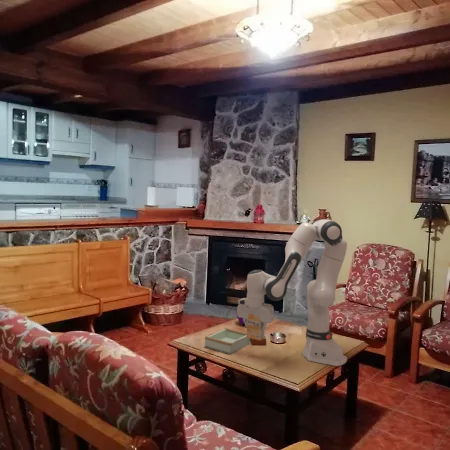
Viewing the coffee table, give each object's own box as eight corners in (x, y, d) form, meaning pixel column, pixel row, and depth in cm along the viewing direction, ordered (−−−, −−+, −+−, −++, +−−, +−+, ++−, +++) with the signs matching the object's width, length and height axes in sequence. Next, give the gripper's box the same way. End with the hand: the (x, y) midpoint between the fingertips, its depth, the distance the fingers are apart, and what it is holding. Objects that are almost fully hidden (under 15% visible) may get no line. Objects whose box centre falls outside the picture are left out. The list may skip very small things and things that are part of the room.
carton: (261, 336, 260) (261, 329, 260) (266, 346, 244) (266, 338, 244) (247, 336, 259) (247, 329, 259) (251, 346, 243) (252, 338, 243)
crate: (249, 344, 245) (250, 334, 245) (229, 354, 228) (230, 343, 228) (225, 337, 254) (225, 327, 254) (204, 347, 237) (204, 336, 237)
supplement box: (246, 337, 228) (246, 312, 227) (251, 335, 232) (251, 310, 231) (259, 341, 223) (259, 315, 222) (264, 338, 227) (264, 313, 226)
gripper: (276, 303, 222) (276, 330, 224) (241, 297, 234) (241, 323, 235) (270, 306, 217) (270, 333, 218) (235, 300, 229) (235, 326, 230)
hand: (255, 328), depth 227 cm, fingers closed on supplement box, 8 cm apart
